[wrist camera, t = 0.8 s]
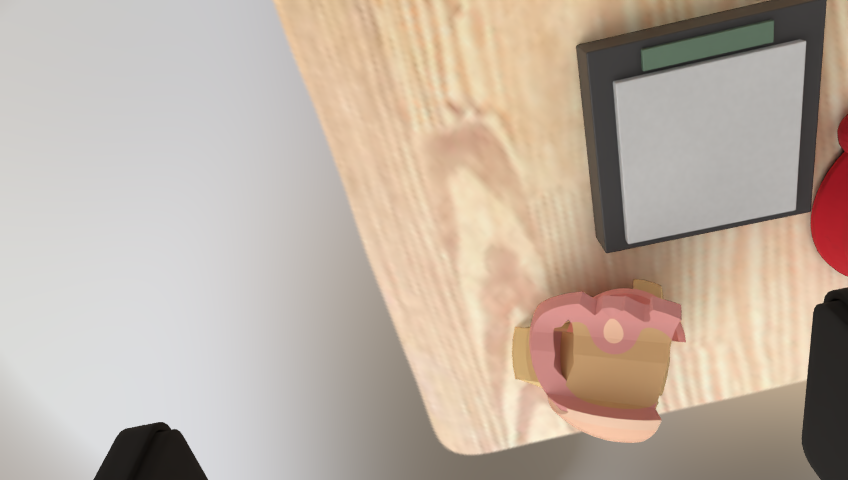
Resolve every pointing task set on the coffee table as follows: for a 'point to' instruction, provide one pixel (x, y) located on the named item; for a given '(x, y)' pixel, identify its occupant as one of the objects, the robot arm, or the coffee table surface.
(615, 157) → the scale
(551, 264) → the coffee table surface
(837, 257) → the alarm clock
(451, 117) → the coffee table surface
